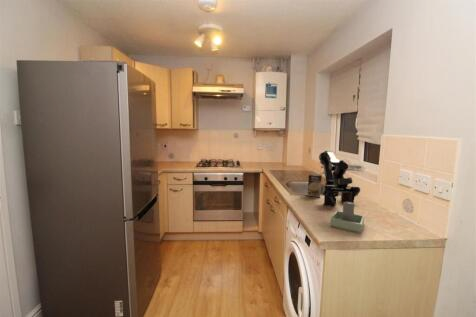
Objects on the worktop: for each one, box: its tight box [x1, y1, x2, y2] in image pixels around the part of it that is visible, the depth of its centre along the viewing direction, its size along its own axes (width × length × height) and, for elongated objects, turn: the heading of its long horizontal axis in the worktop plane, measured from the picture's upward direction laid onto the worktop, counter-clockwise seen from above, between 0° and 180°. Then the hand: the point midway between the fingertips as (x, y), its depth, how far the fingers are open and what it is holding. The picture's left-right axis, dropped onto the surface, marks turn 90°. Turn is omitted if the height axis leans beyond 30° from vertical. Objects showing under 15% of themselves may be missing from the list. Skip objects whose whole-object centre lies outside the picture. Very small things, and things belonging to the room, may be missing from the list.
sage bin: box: [330, 210, 365, 234], centre depth 118 cm, size 14×14×4 cm
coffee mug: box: [340, 185, 353, 203], centre depth 160 cm, size 12×9×10 cm
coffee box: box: [306, 173, 323, 198], centre depth 170 cm, size 9×6×16 cm
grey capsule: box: [342, 202, 355, 222], centre depth 117 cm, size 5×5×11 cm
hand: (343, 204), depth 125 cm, fingers open, 9 cm apart
